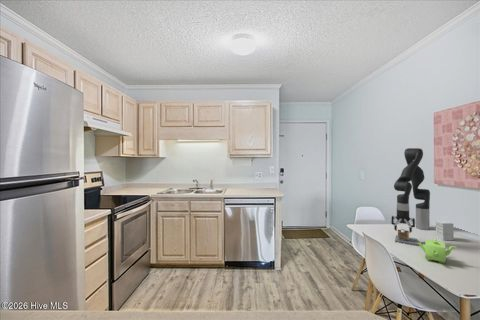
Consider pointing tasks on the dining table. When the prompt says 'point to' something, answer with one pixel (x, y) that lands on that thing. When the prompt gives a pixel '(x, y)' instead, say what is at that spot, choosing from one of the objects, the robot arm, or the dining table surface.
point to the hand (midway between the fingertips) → (402, 231)
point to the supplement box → (444, 230)
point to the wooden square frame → (403, 234)
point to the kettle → (435, 250)
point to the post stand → (406, 240)
